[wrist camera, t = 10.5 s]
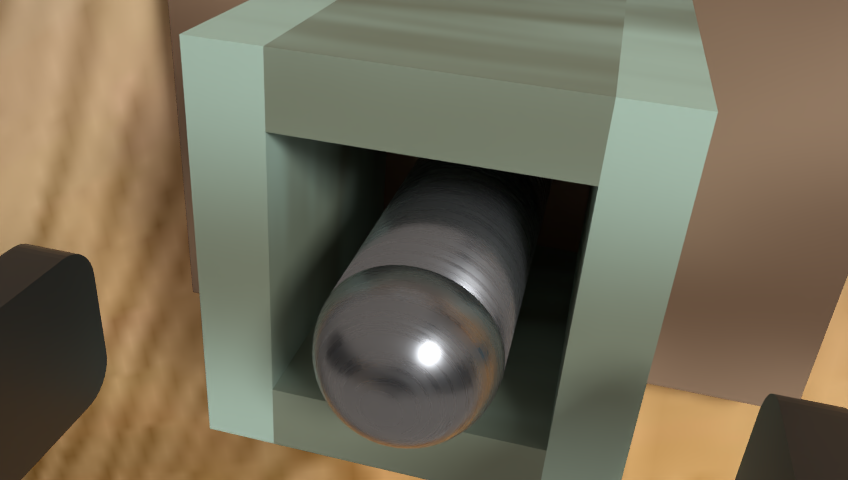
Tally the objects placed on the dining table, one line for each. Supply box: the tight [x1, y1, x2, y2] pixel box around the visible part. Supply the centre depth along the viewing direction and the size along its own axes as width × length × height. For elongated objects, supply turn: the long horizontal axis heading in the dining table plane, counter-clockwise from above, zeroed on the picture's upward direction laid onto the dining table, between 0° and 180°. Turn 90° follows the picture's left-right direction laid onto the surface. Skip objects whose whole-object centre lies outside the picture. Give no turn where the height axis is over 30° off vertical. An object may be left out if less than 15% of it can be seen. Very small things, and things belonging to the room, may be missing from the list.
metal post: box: [312, 157, 553, 449], centre depth 13 cm, size 2×2×8 cm
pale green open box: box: [179, 0, 718, 480], centre depth 13 cm, size 6×6×6 cm
